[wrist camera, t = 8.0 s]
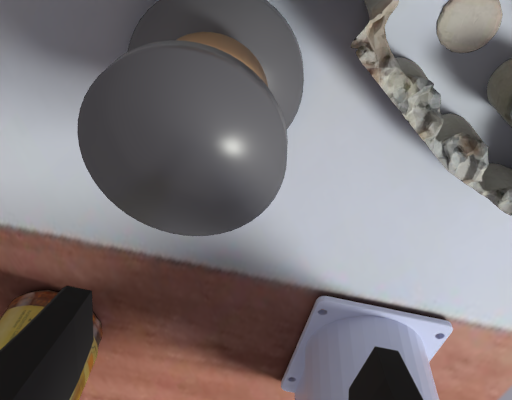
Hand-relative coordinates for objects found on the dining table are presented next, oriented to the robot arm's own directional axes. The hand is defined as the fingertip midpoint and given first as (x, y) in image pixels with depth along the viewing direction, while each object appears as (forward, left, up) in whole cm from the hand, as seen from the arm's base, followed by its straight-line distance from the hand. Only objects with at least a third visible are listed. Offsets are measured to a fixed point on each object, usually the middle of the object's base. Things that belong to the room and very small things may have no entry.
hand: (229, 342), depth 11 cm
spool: (+3, +2, -10) cm, 11 cm away
